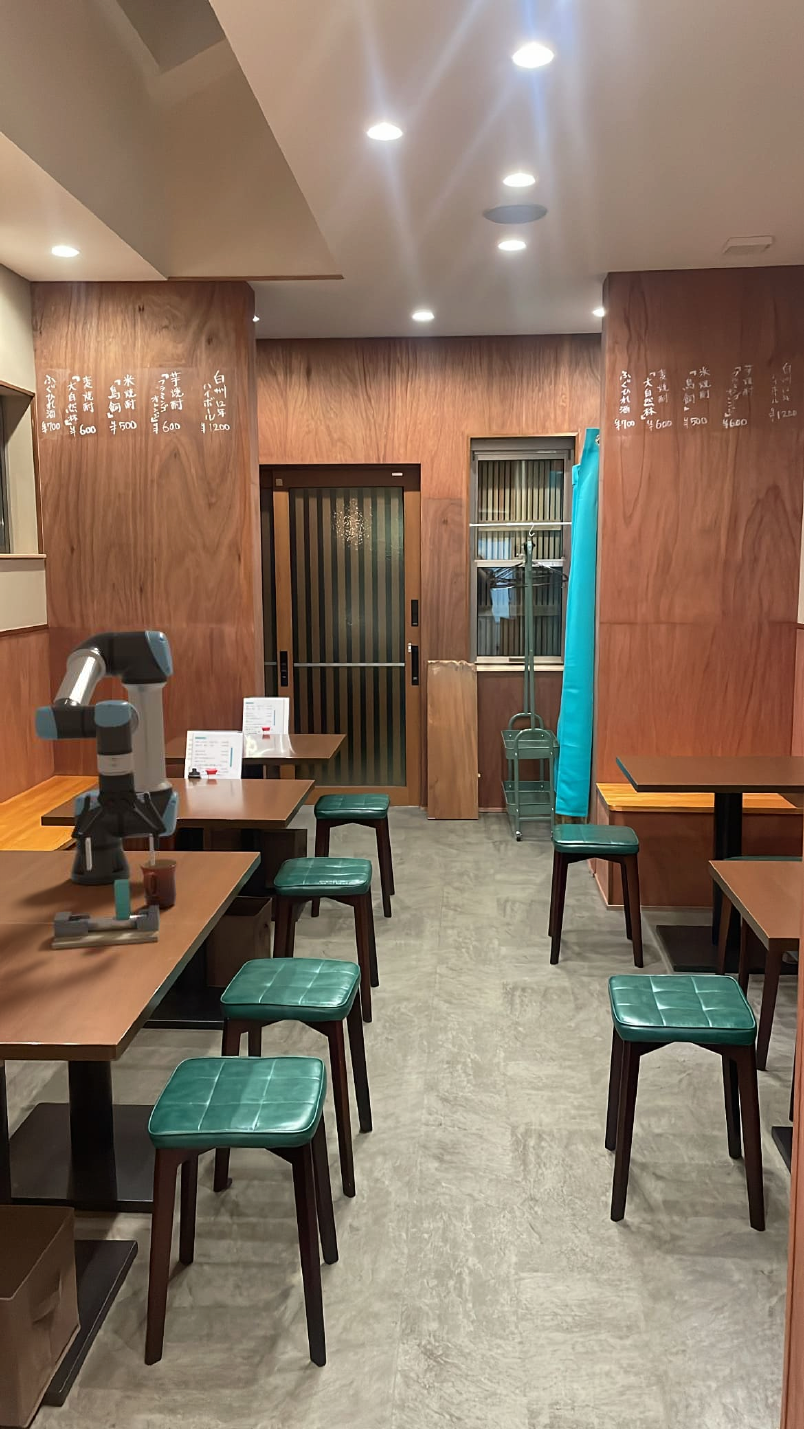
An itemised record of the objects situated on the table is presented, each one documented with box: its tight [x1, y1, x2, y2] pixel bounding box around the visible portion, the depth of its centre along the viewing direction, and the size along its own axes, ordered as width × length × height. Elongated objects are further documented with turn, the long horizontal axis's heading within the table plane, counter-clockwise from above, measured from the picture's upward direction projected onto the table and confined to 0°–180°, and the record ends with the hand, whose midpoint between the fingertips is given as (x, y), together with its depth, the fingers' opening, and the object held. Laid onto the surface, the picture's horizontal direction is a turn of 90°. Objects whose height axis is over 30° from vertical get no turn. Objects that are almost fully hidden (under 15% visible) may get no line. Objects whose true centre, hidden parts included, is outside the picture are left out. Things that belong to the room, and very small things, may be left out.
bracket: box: [53, 911, 91, 939], centre depth 235 cm, size 6×7×4 cm
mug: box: [140, 858, 179, 910], centre depth 256 cm, size 12×9×10 cm
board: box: [51, 916, 161, 950], centre depth 237 cm, size 14×22×1 cm, turn 100°
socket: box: [137, 905, 161, 932], centre depth 238 cm, size 6×4×4 cm
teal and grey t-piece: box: [79, 878, 148, 932], centre depth 236 cm, size 3×15×11 cm, turn 100°
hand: (121, 866), depth 236 cm, fingers open, 13 cm apart
